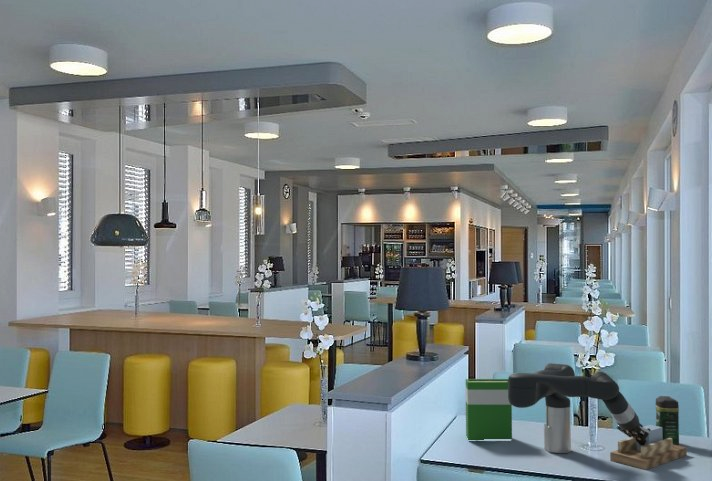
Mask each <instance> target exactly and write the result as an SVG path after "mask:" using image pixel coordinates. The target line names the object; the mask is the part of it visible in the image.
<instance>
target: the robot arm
mask: <svg viewBox="0 0 712 481" xmlns="http://www.w3.org/2000/svg"><path fill="white" fill-rule="evenodd" d="M507 379H508V399H509V402H510V404H511V405H512V407H515V408H519V409H524V408H529V407H533V406H535V405H536V404H537V403H538V402H539V401H541V400H542V399H544V400H545V423H544V425H543V426H544V427H543V432H544V435H543V436H544V444H543V445H544V449H545V450H546V451H547V452H548V453H554V454H567V453H571V452H572V438H571V436H572V434H571V433H572V432H571V430H572V429H571V424H572V423H571V422H572V421H571V417H572V416H571V399H570V398H583V397H584V398H585V397H587V398H591V399H596V400H600V401H601V400H602V402H603V403H604V405H605V408H607V410H608V411H609V413H610V415H611V417H612V418H613V420H614V421H615V423H616V424H617V427H616V429H617V430H618V431H620V432H621V433H623V434H624V435H625V436H626V437H628V438H632V437H633V438H634V439H636V441H637V442H638V443H639V445H643V446H644V445H645V443H646V440H645V439H646V438H647V436H648V435H649V433H650V429H649V428H647V429H645V428H643V424H641V423H640V418H639V416H638V415H637V413H636V412H635V410H634V408H633V407H632V405H631V404H630V403H629V402H628V401H627V399H626V397H625V396H624V395H623V393H622V392H621V391H620V387H619V385H618V382H616V381H615V380H614V379H613V378H612V377H610V375H609V374H607V373H606V372H603V371H596V372H593V374H592V375H591V376H590V377H588V376H586V375H576V374H575V370H574V369H573V367H572V366H571V365H568V364H563V363H552V362H551V363H550V362H549V363H547V364H546V365H545V366H544V369H541V370H538V371H536V372H533V373H530V372H516V373H515V372H514V373H511V374H510V375H509V376H508V378H507ZM642 431H643V433H642Z"/></svg>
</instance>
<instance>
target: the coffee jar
mask: <svg viewBox="0 0 712 481" xmlns="http://www.w3.org/2000/svg"><path fill="white" fill-rule="evenodd" d="M679 406H680V405H679V402H678V400H676V399H674V398H673V397H671V396H667V395H666V396H664V395H659V396H658V397H656V398H655V426H659V427H662V435H663V440H664V439H667V438H672V443H673V444H674V445H678V446H680V427H679V426H680V424H679V418H680V416H679V413H680V412H679V410H680V409H679V408H680V407H679Z"/></svg>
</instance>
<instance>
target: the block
mask: <svg viewBox="0 0 712 481" xmlns="http://www.w3.org/2000/svg"><path fill="white" fill-rule="evenodd" d="M642 426H643V425H642ZM643 428H645V429H647V428H649V429H650V433H649V435H648V436H647V438H646V439H645V440H646V443H645V445H648V444H651V443H655V442H658V441H661V440H663V435H662V427H659V426H656V425H653V424H647V425H644V426H643ZM642 433H643V431H642ZM645 445H644V446H645ZM642 446H643V445H639V443H638V442H637V450H639V451H641V447H642Z"/></svg>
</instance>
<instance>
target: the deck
mask: <svg viewBox="0 0 712 481" xmlns="http://www.w3.org/2000/svg"><path fill="white" fill-rule="evenodd" d="M687 452H688V451H687V447H686V446H682V445H674V444H673V443H672V438H667V439H664V440H661V441H658V442H655V443H651V444H648V445H645V446H642V447H641V451H639V450H637V441H636V439H634V438H633V437H628V438H625V439H623V440H619V441H617V450H613V451H611V452H609V454H610V462H614V463H618V464H621V465H627V466H630V467H633V468H638V469H642V470H646V471H647V470H649V468H650V469H653V468H655V467H657V466H661V465H663V464H667V463H669V462H672V461H674V460H678V459H681V458H683V457H686V456H687V455H688V454H687ZM652 467H653V468H652Z"/></svg>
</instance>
